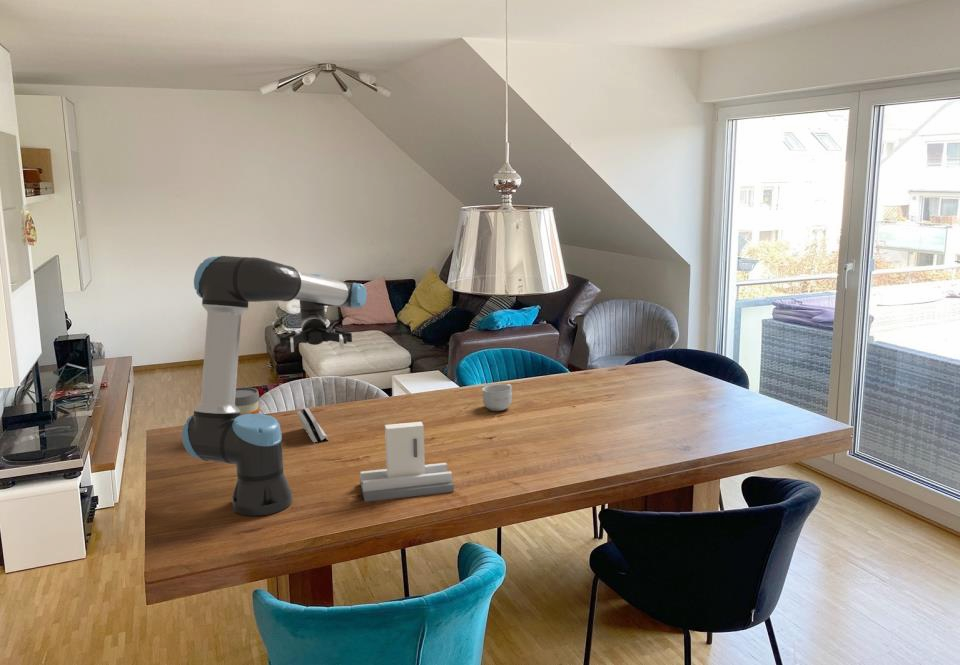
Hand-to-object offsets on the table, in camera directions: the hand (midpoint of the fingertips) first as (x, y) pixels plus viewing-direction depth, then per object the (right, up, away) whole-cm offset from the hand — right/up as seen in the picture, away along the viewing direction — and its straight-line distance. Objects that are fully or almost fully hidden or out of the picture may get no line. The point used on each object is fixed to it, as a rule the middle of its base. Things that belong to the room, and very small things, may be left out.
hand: (317, 345), depth 212 cm
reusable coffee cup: (-33, -31, +41) cm, 61 cm away
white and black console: (-10, -31, +41) cm, 52 cm away
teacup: (+52, -24, +68) cm, 89 cm away
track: (+25, -39, -2) cm, 46 cm away
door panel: (+25, -37, -2) cm, 45 cm away
